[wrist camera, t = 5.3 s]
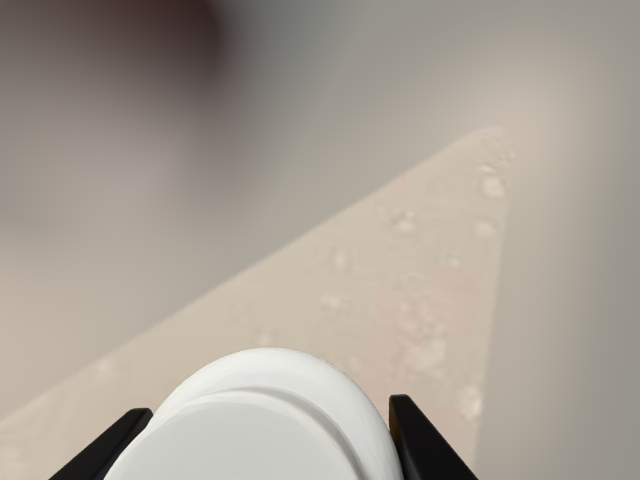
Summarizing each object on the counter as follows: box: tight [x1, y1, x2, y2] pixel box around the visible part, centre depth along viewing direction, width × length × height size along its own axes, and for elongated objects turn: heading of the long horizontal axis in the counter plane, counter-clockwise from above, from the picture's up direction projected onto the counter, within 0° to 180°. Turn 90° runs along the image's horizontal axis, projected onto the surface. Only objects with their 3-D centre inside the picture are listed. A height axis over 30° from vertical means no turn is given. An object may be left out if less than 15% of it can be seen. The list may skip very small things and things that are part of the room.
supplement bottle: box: [104, 348, 404, 480], centre depth 9 cm, size 6×6×10 cm
